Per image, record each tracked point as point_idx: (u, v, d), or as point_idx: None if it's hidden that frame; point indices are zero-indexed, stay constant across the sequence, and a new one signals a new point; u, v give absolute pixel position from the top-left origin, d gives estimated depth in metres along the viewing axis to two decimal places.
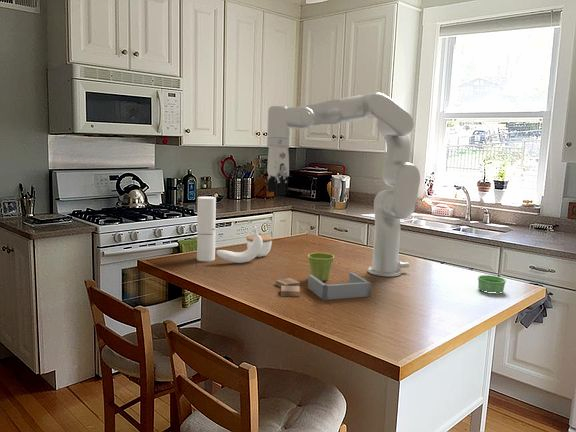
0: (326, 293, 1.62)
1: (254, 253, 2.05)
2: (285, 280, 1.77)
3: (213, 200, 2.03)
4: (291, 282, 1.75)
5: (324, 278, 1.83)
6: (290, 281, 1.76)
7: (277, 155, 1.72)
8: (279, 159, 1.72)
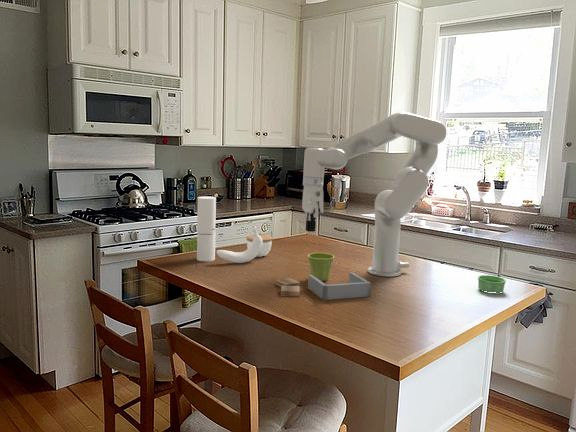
0: (326, 293, 1.62)
1: (254, 253, 2.05)
2: (285, 280, 1.77)
3: (213, 200, 2.03)
4: (291, 282, 1.75)
5: (324, 278, 1.83)
6: (290, 281, 1.76)
7: (313, 193, 1.85)
8: (315, 197, 1.86)
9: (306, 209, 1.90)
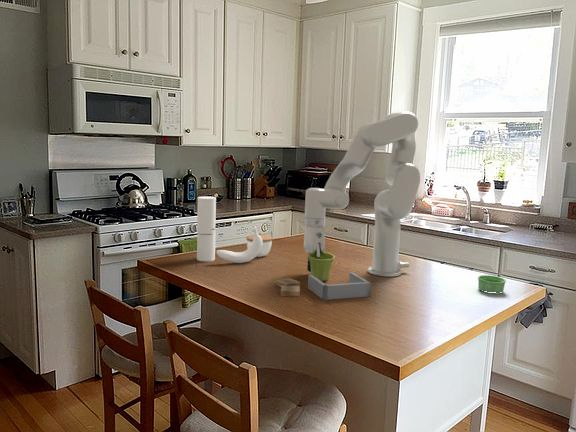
0: (326, 293, 1.62)
1: (254, 253, 2.05)
2: (285, 280, 1.77)
3: (213, 200, 2.03)
4: (291, 282, 1.75)
5: (324, 278, 1.83)
6: (290, 281, 1.76)
7: (314, 235, 1.85)
8: (316, 238, 1.85)
9: (308, 249, 1.90)
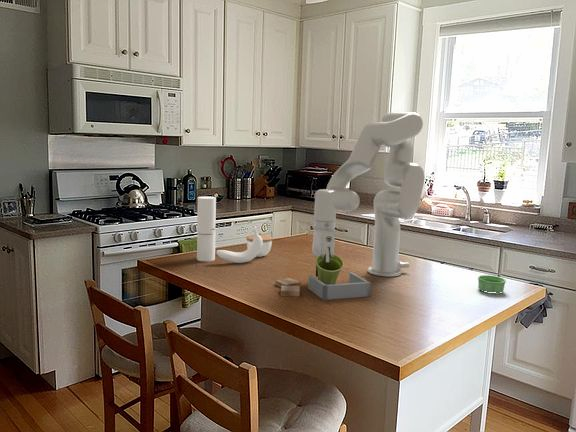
0: (326, 293, 1.62)
1: (254, 253, 2.05)
2: (285, 280, 1.77)
3: (213, 200, 2.03)
4: (291, 282, 1.75)
5: None
6: (290, 281, 1.76)
7: (324, 238, 1.75)
8: (325, 242, 1.75)
9: (316, 254, 1.80)
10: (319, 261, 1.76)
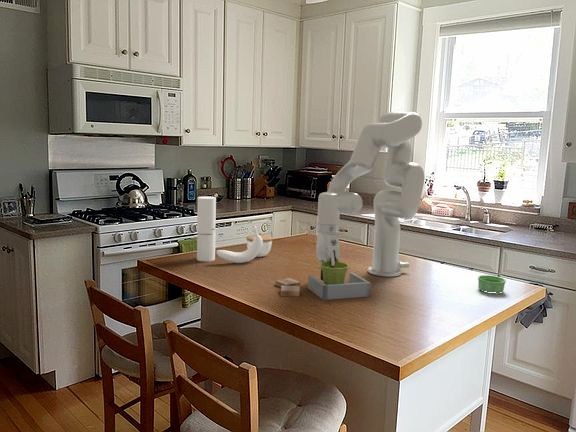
0: (326, 293, 1.62)
1: (254, 253, 2.05)
2: (285, 280, 1.77)
3: (213, 200, 2.03)
4: (291, 282, 1.75)
5: None
6: (290, 281, 1.76)
7: (328, 242, 1.74)
8: (330, 246, 1.74)
9: (321, 257, 1.79)
10: None
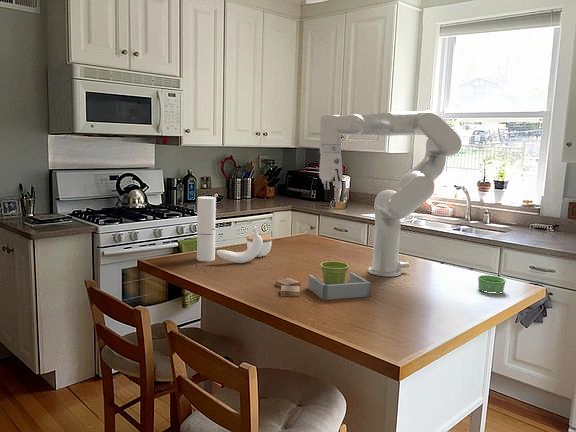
0: (326, 293, 1.62)
1: (254, 253, 2.05)
2: (285, 280, 1.77)
3: (213, 200, 2.03)
4: (291, 282, 1.75)
5: None
6: (290, 281, 1.76)
7: (332, 161, 1.82)
8: (334, 165, 1.82)
9: (324, 178, 1.87)
10: None
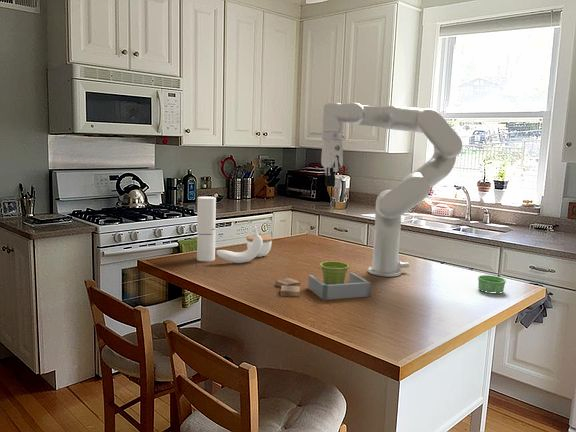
0: (326, 293, 1.62)
1: (254, 253, 2.05)
2: (285, 280, 1.77)
3: (213, 200, 2.03)
4: (291, 282, 1.75)
5: None
6: (290, 281, 1.76)
7: (332, 148, 1.88)
8: (334, 151, 1.89)
9: (325, 164, 1.93)
10: None
